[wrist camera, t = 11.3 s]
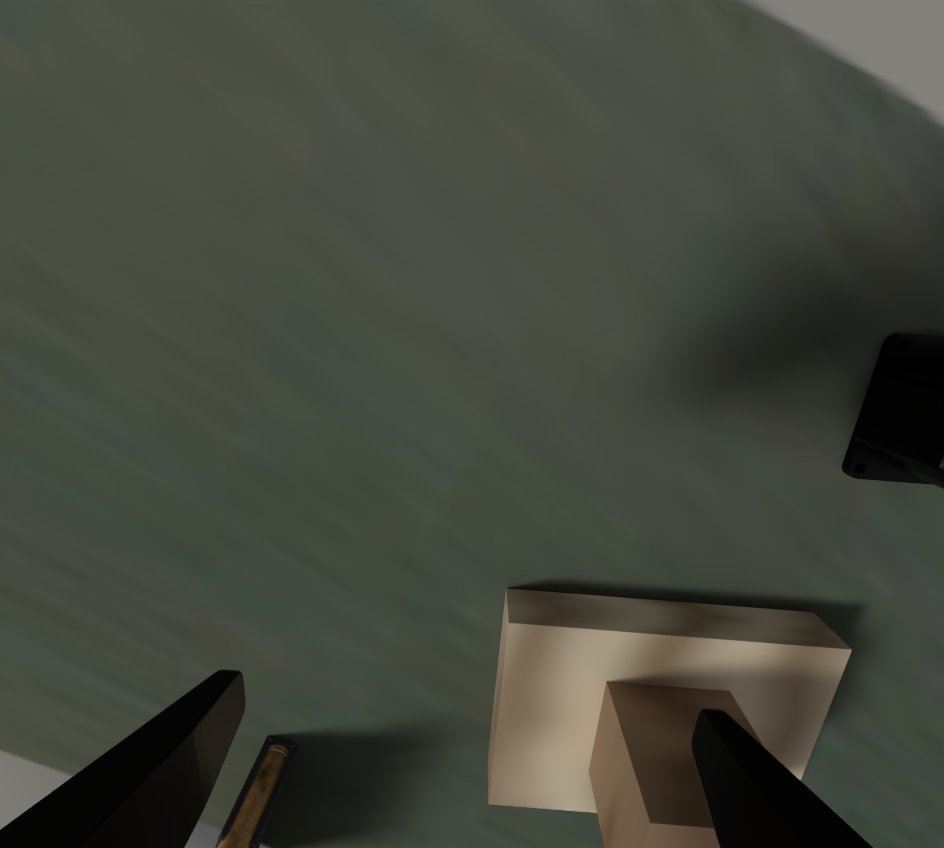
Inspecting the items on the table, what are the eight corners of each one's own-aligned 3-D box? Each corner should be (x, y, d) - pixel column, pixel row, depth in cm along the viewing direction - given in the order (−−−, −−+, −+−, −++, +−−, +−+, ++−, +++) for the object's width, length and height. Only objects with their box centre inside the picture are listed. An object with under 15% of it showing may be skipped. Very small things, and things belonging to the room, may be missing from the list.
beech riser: (813, 612, 23) (852, 649, 21) (755, 779, 27) (781, 827, 24) (506, 588, 23) (508, 622, 21) (487, 757, 27) (488, 804, 24)
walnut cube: (729, 690, 22) (819, 836, 16) (702, 780, 23) (773, 940, 18) (606, 681, 22) (650, 823, 16) (588, 771, 23) (622, 928, 18)
